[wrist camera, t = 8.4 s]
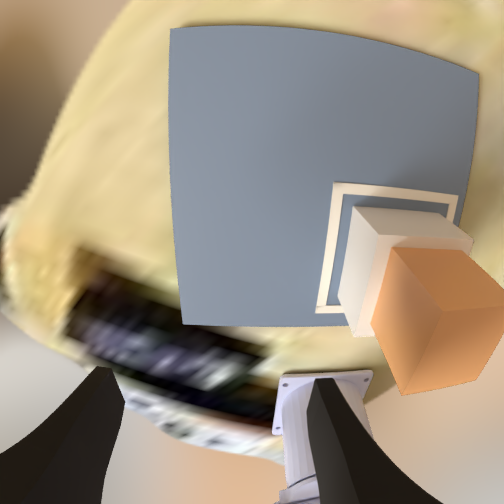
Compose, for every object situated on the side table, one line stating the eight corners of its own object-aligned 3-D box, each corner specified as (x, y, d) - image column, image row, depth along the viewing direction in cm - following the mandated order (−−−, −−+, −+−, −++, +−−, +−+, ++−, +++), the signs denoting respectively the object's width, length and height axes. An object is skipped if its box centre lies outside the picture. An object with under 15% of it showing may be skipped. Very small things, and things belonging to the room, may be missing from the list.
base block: (416, 294, 20) (441, 330, 16) (337, 296, 19) (353, 337, 16) (438, 212, 17) (474, 239, 13) (352, 206, 17) (378, 234, 13)
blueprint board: (424, 316, 21) (428, 321, 21) (184, 318, 21) (182, 325, 20) (473, 74, 13) (479, 74, 13) (172, 31, 13) (169, 28, 12)
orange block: (436, 319, 16) (475, 380, 11) (370, 323, 15) (401, 395, 11) (461, 250, 14) (518, 304, 9) (391, 246, 13) (442, 311, 9)
